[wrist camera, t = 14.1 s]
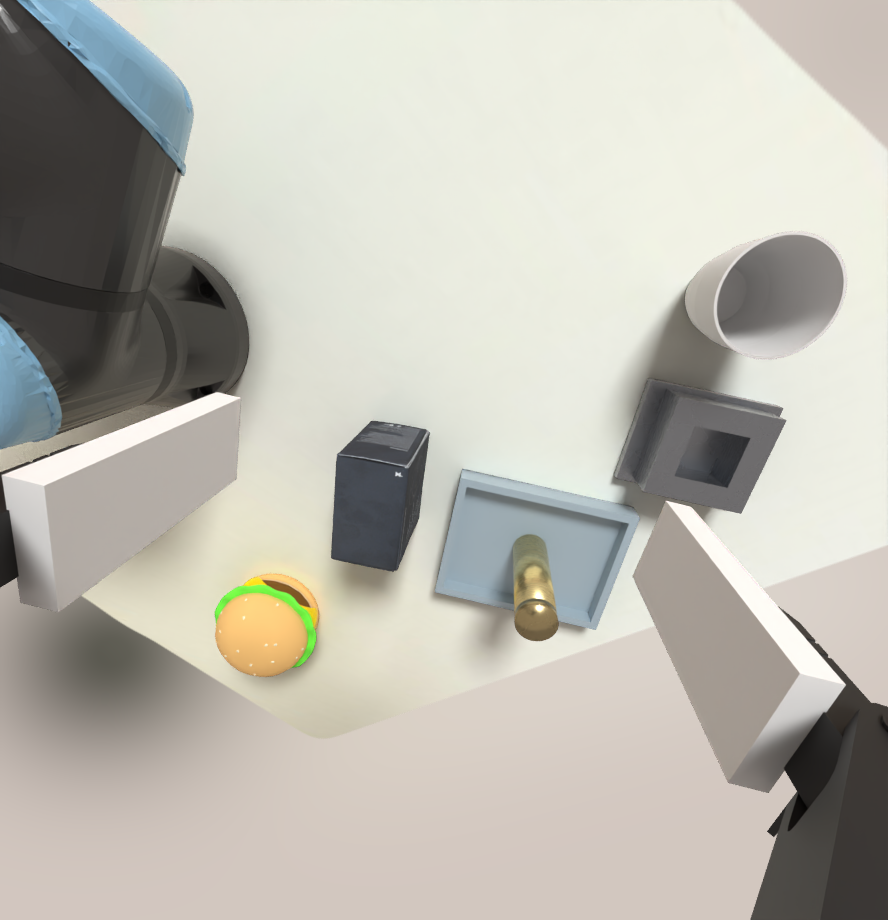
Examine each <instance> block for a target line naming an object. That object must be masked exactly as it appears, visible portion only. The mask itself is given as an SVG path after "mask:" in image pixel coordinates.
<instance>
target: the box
mask: <svg viewBox="0 0 888 920" xmlns="http://www.w3.org/2000/svg"><path fill="white" fill-rule="evenodd" d="M429 434H430V432H429V431H427V430H426V429H420V428H415V427H410V426H405V425H399V424H392V423H386V422H378V421H371V422H370V423H369V424H368V425H367V426H366V427H365V428H364V429H363V430H362V431H361V432H360V433H359V434H358V435H357V436H356V437H355V438H354V439H353V440H352V441H351V442H350V443H349V444H348V445H347V446H346V447H345V448H344V449H343V450H342V451H341V452H340V453H338V454H337V461H336V477H335V495H334V515H333V533H332V550H331V558H332V559H334V560H339V561H343V562H349V563H353V564H358V565H363V566H367V567H373V568H378V569H382V570H387V571H392V572H394V571H396V570H397V569H398V567H399V564H400V562H401V560H402V557H403V555H404V552H405V550H406V547H407V545H408V542H409V539H410V537H411V535H412V532H413V530H414V528H415V526H416V524H417V522H418V519H419V513H420V505H421V495H422V486H423V479H424V472H425V464H426V457H427V449H428V441H429Z"/></svg>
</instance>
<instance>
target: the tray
mask: <svg viewBox="0 0 888 920" xmlns="http://www.w3.org/2000/svg"><path fill="white" fill-rule="evenodd" d="M639 520H640V518H639V516H638V514H637V513H636V511H635V509H634V508H633V507H630V506H626V505H621V504H617V503H612V502H608V501H603V500H599V499H595V498H590V497H586V496H581V495H577V494H572V493H568V492H563V491H559V490H555V489H550V488H546V487H541V486H537V485H532V484H528V483H523V482H519V481H515V480H510V479H506V478H501V477H497V476H492V475H488V474H484V473H479V472H475V471H470V470H466V469H462V473H461V478H460V482H459V487H458V491H457V495H456V500H455V504H454V509H453V513H452V517H451V522H450V526H449V530H448V535H447V539H446V544H445V548H444V552H443V557H442V561H441V566H440V570H439V574H438V579H437V583H436V588H435V592H437V593H441V594H445V595H449V596H454V597H458V598H462V599H466V600H471V601H475V602H479V603H483V604H488V605H492V606H496V607H500V608H505V609H509V610H513V611H514V576H513V545H514V542H515V541H516V540H517V539H518V538H519V537H521V536H523V535H527V534H533V535H537V536H539V537H540V538H542V539H543V540H544V542H545V543H546V547H547V553H548V559H549V565H550V572H551V578H552V584H553V591H554V597H555V603H556V610H557V616H558V621H560V622H564V623H568V624H573V625H577V626H581V627H585V628H590V629H594V630H596V628H597V626H598V623H599V621H600V618H601V615H602V613H603V610H604V608H605V605H606V603H607V600H608V598H609V595H610V593H611V590H612V588H613V585H614V583H615V580H616V578H617V575H618V573H619V570H620V568H621V565H622V563H623V560H624V557H625V555H626V552H627V550H628V547H629V545H630V542H631V540H632V537H633V535H634V532H635V530H636V527H637V525H638V522H639Z"/></svg>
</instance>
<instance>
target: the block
mask: <svg viewBox="0 0 888 920" xmlns="http://www.w3.org/2000/svg"><path fill="white" fill-rule="evenodd" d="M782 410H783V408H782V407H780V406H777V405H772V404H768V403H763V402H758V401H754V400H749V399H744V398H740V397H735V396H731V395H726V394H721V393H717V392H712V391H707V390H703V389H698V388H693V387H689V386H684V385H679V384H675V383H670V382H665V381H661V380H656V379H652V378H648V381H647V384H646V387H645V389H644V392H643V395H642V398H641V400H640V403H639V406H638V409H637V412H636V414H635V417H634V420H633V423H632V426H631V428H630V431H629V434H628V437H627V439H626V442H625V445H624V448H623V451H622V453H621V456H620V459H619V462H618V464H617V467H616V470H615V473H614V476H615V477H616V478H617V479H621V480H626V481H630V482H635V483H637V484H638V485H639V487H640V488H641V490H642V491H643V492H646V493H651V494H655V495H660V496H664V497H669V498H673V499H678V500H682V501H687V502H691V503H696V504H700V505H704V506H709V507H713V508H718V509H722V510H727V511H731V512H736V513H740V514H741V513H742V511H743V509H744V507H745V505H746V503H747V501H748V499H749V496H750V494H751V492H752V490H753V488H754V486H755V484H756V482H757V480H758V478H759V476H760V474H761V472H762V470H763V468H764V466H765V463H766V461H767V459H768V457H769V455H770V453H771V451H772V449H773V447H774V445H775V443H776V441H777V439H778V437H779V435H780V433H781V430H782V428H783V426H784V424H785V422H786V420H785V419H783V418H781V417H780V415H781V412H782Z"/></svg>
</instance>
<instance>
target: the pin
mask: <svg viewBox="0 0 888 920" xmlns="http://www.w3.org/2000/svg"><path fill="white" fill-rule="evenodd" d="M513 576H514V613H515V627H516V630H517V631H518V633H519V634H520V635H521V636H523V637H524V638H526V639H528V640H532V641H543V640H546V639H549V638H550V637H552V636H553V635H554V634H555V633H556V631H557V629H558V625H559V623H558V616H557V610H556V603H555V597H554V591H553V584H552V578H551V572H550V565H549V559H548V553H547V547H546V543H545V542H544V540H543V539H542V538H540V537H539V536H537V535H533V534H527V535H523V536H521V537H519V538H518V539H517V540H516V541H515V542H514V545H513Z"/></svg>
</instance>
